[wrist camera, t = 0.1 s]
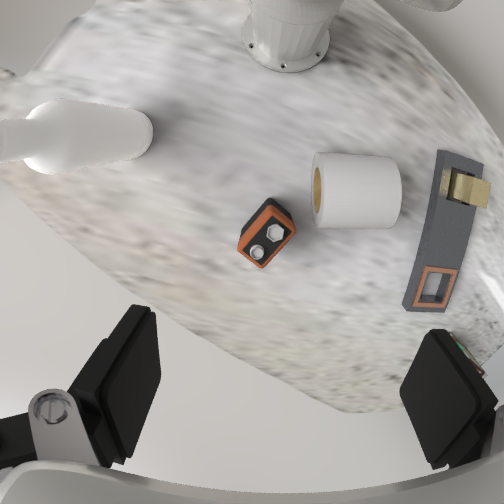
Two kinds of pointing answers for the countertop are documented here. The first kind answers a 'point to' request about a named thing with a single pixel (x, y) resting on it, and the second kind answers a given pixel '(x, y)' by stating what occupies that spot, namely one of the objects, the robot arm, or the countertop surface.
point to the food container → (470, 357)
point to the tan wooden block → (469, 189)
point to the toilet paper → (355, 191)
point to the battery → (266, 233)
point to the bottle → (74, 136)
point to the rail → (442, 236)
